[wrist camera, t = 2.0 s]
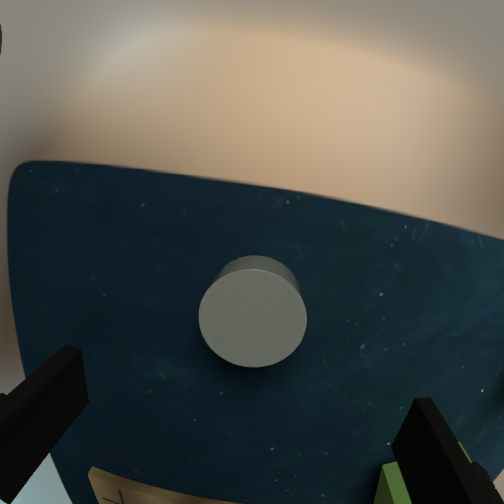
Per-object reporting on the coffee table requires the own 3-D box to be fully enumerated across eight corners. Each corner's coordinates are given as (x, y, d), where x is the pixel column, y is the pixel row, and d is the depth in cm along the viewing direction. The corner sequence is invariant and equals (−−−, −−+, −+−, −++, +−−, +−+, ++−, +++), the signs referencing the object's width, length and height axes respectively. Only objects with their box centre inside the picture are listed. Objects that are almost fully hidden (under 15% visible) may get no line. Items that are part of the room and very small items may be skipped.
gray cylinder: (205, 334, 23) (195, 358, 19) (213, 249, 22) (203, 261, 18) (293, 347, 23) (295, 373, 19) (309, 262, 21) (316, 277, 18)
